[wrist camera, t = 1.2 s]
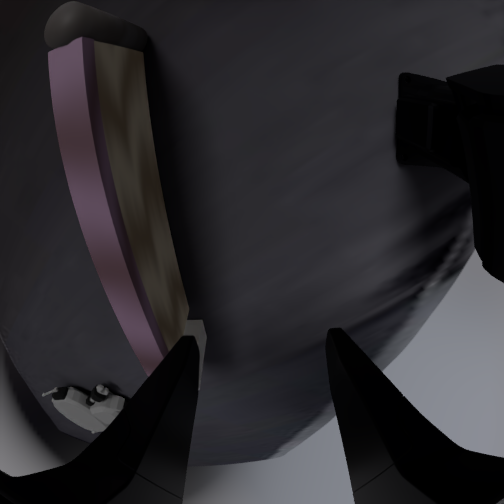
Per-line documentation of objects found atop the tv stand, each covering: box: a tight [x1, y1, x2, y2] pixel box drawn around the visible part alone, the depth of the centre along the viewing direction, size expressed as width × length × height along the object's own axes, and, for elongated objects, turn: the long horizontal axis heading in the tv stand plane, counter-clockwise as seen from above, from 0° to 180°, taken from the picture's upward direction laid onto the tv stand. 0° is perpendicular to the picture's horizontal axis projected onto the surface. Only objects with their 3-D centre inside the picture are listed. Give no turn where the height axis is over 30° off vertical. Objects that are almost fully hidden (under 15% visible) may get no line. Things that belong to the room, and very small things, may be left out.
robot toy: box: [42, 384, 128, 433], centre depth 34 cm, size 12×4×15 cm
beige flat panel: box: [44, 1, 189, 377], centre depth 15 cm, size 22×2×8 cm, turn 4°
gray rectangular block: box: [184, 320, 207, 390], centre depth 23 cm, size 3×2×6 cm
